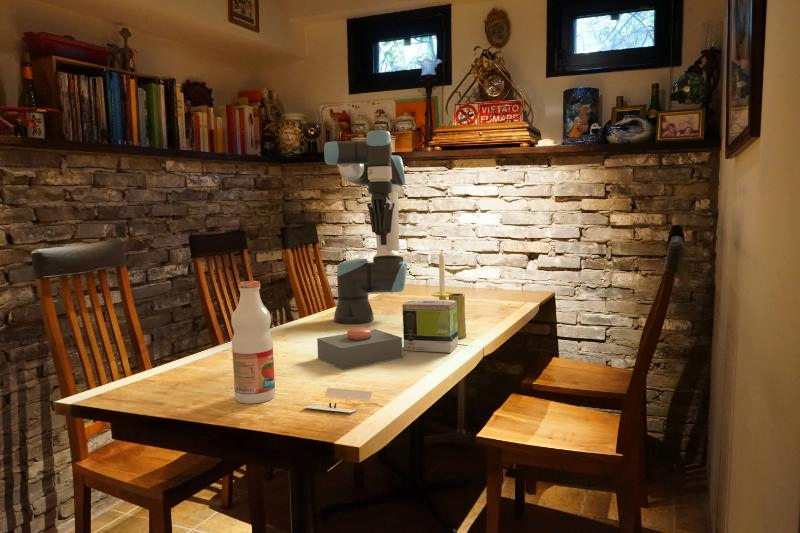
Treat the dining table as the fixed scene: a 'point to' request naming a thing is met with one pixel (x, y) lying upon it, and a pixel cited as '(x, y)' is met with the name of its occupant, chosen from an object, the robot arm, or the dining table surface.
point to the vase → (460, 313)
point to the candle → (442, 279)
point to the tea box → (430, 325)
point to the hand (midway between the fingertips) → (381, 255)
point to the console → (359, 349)
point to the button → (359, 333)
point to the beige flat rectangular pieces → (343, 394)
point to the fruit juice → (252, 347)
